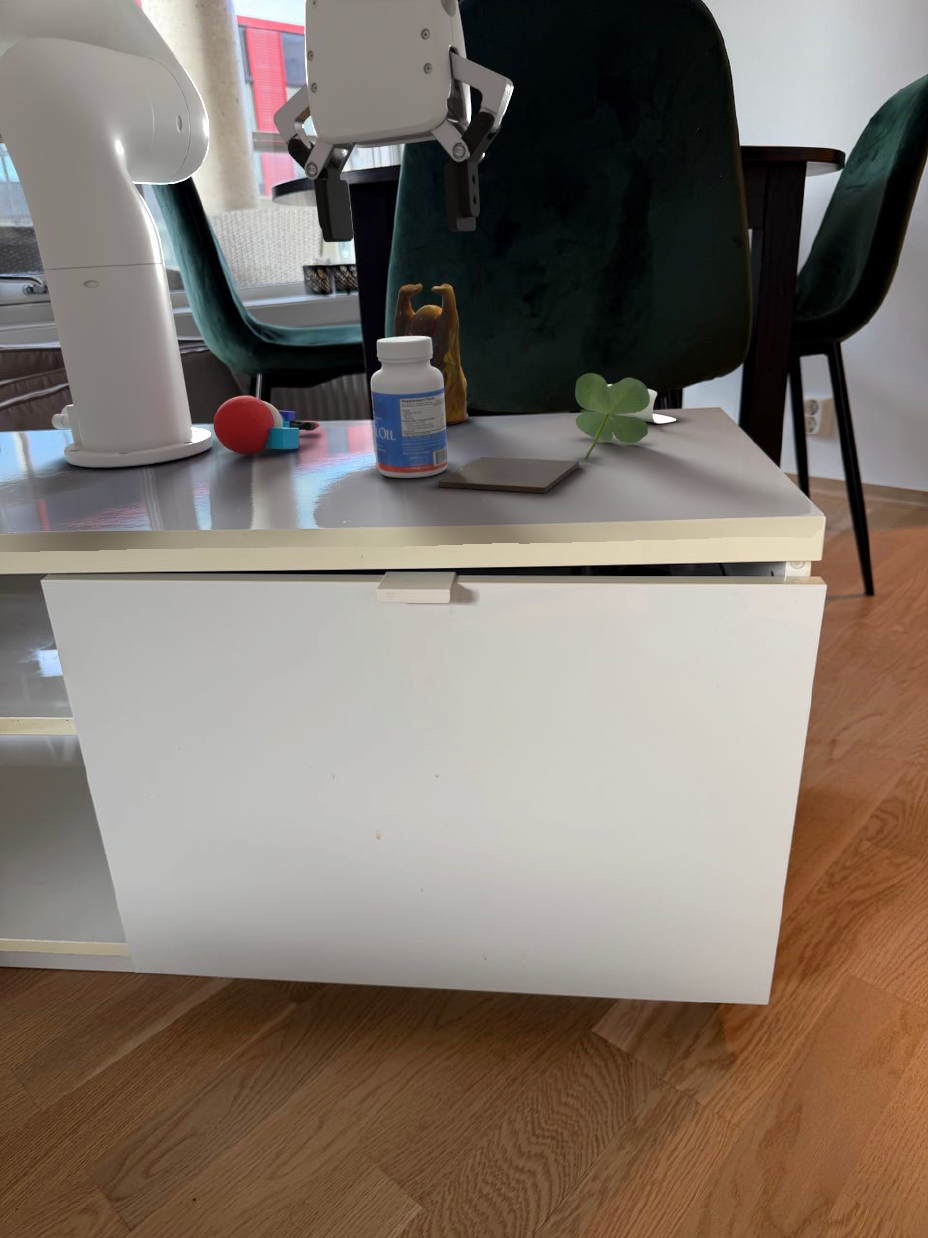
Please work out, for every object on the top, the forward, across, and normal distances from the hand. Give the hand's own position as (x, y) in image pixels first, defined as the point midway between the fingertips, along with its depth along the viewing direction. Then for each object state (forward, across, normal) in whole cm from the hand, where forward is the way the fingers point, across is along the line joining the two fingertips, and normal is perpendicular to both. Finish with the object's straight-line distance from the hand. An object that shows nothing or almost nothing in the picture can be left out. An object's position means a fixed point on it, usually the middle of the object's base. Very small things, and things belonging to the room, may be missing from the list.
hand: (398, 236), depth 61 cm
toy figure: (+16, +19, -6) cm, 26 cm away
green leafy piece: (+17, -11, -11) cm, 23 cm away
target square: (+17, -7, 0) cm, 18 cm away
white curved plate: (+17, -11, -25) cm, 32 cm away
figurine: (+17, +8, -20) cm, 27 cm away
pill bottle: (+17, +1, 0) cm, 17 cm away
